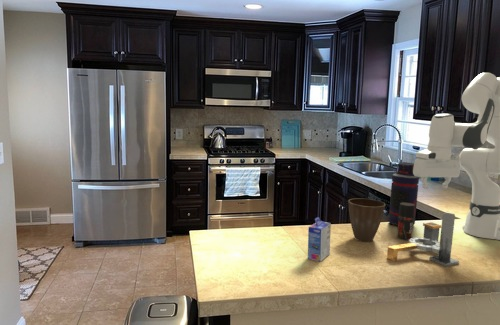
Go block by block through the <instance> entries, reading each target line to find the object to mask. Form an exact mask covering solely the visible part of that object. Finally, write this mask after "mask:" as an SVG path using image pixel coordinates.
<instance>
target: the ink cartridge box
mask: <svg viewBox="0 0 500 325" xmlns="http://www.w3.org/2000/svg"><path fill="white" fill-rule="evenodd" d="M314 221H315V223H313V224H311V225H310V226H309V227H308V228H307V229H308V231H307V232H308V233H307V234H308V236H307V237H308V238H307V239H308V240H307V259H308V260H312V261H316V262H322V261H323V260H324V259H325V258H326V257H328V256H329V255H330V253H331V229H332V227H331V226H332V224H331V222H327V221H323V220H321V219H320V217H319V216H317V217H315V218H314Z"/></svg>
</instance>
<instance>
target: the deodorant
mask: <svg viewBox="0 0 500 325" xmlns="http://www.w3.org/2000/svg"><path fill="white" fill-rule="evenodd" d="M414 209H415V204H412V203H405V202H403V203H400V210H399V221H398V225H397V234H396V238H397V239H399V240H403V241H409V239H410V238H413V228H414V226H413V220H414Z"/></svg>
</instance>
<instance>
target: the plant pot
mask: <svg viewBox="0 0 500 325" xmlns="http://www.w3.org/2000/svg"><path fill="white" fill-rule="evenodd" d="M385 208H386V204H385V202H383V201H381V200H378V199H377V200H376V199H371V198H351V199H348V212H349V222H350V224H351V230H352V233H353V236H354V239H355V240H356V241H359V242H366V243H369V242H372V241H373V240H374V238H375V237H376V234H377V232H378V231H379V227H380V225H381V222H382V220H383V219H382V218H383V215H384V212H385Z"/></svg>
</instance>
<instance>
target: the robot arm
mask: <svg viewBox="0 0 500 325" xmlns="http://www.w3.org/2000/svg"><path fill="white" fill-rule="evenodd" d="M461 102H462V106H463V107H464V108H465V109H466V110H467V111H469V112H471V113H473V114H477V115H478V116H477V120H476V121H475V122H471V123H464V122H463V123H462V122H456V121H455V118H454V115H453V114H451V113H436V114H434V115H433V116H432V118H431V121H430V125H429V133H428V137H429V138H428V139H429V140H428V143H427V148H425V149H422V150H420V151H417V152H416V153H415V157H416V159H415V160H414V162H413V163H414V167H413V174H414V176H416V177H419V178H420V182H422V186H421V187H422V189H429V183H427V180H428V178H444V182H443V183H441V188H443V189H448V187H449V184H450V182H451V181H452V178H459V176H461V175H460V173H461V169H463V170H464V171H465V172H466V173H467V175H468V177H469V179H470V181H471V186H472V187H471V188H472V189H471V201H470V202H469V211H467V215H466V218H465V223H464V225H463V226H462V229H463V232H464V233H466V234H468V235H470V236H473V237H478V238H481V239H491V240H497V241H500V185H499V184H498V183H496V182H495V181H493V180H492V179H491V178H490V177H489V174H492V175H500V76H499V77H496V75H495V74H493V73H491V72H482V73H480V74H478V75H477V76H475V77H474V78H473V80H471V81H470V83H469V84H468V85H467V87H466V88H465V90H464V91H463V93H462V94H461ZM486 142H488V143H489V144H491V145H493V146H494V148H487V147H486V148H485V147H482V146H484V145H485V144H486ZM453 147H456V148H458V147H459V148H463V149H462V150H461V151H460V153H459V155H458V154H452V148H453Z"/></svg>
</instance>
